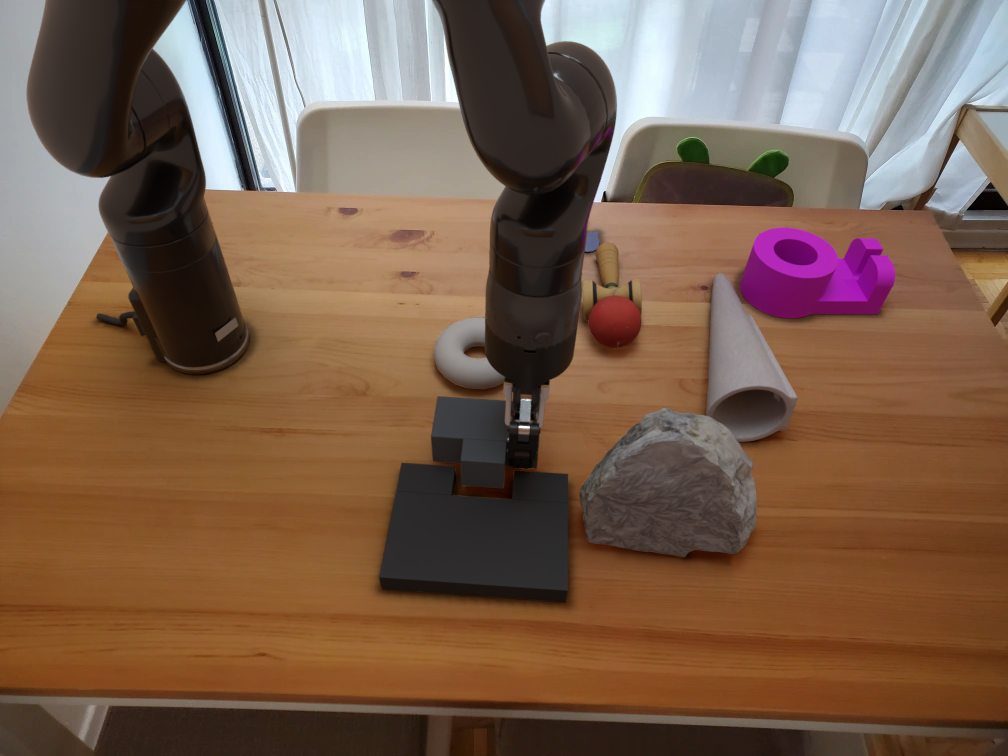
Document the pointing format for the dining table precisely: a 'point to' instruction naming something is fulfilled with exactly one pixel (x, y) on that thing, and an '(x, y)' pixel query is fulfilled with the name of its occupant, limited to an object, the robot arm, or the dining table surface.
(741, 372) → the grey hollow cone
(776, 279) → the tape dispenser
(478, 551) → the black pad
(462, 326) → the donut
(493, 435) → the grey pad
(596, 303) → the kendama
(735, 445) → the decorative rock
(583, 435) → the dining table surface
